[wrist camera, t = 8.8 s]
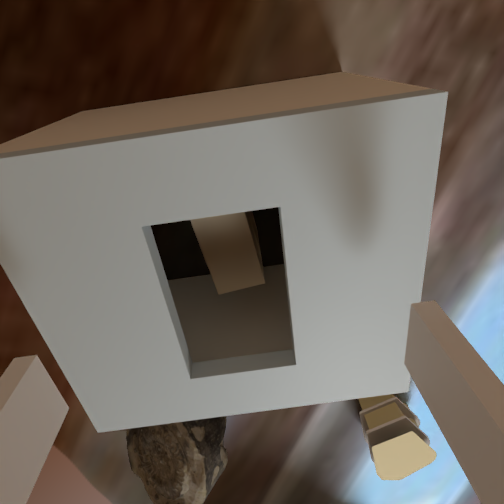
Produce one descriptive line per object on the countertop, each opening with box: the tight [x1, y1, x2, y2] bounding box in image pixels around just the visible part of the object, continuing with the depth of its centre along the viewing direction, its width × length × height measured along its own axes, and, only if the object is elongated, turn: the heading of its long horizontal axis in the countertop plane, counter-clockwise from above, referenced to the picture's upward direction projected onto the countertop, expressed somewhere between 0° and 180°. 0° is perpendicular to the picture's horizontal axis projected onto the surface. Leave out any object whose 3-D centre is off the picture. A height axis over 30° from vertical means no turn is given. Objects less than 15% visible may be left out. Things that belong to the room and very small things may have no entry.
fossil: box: [126, 416, 228, 504], centre depth 34 cm, size 11×9×10 cm
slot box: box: [0, 72, 448, 433], centre depth 20 cm, size 14×16×12 cm
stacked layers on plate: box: [358, 394, 436, 480], centre depth 35 cm, size 10×9×6 cm
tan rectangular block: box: [190, 211, 265, 295], centre depth 22 cm, size 6×3×7 cm, turn 14°
